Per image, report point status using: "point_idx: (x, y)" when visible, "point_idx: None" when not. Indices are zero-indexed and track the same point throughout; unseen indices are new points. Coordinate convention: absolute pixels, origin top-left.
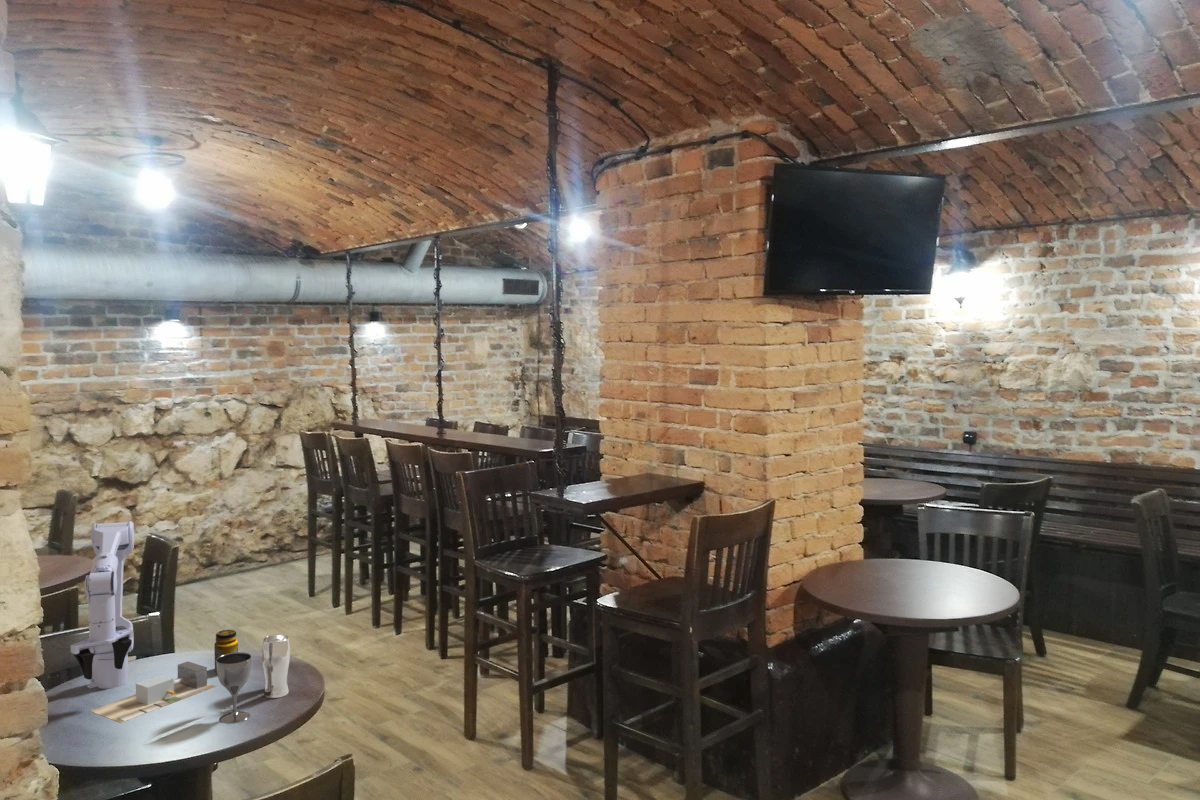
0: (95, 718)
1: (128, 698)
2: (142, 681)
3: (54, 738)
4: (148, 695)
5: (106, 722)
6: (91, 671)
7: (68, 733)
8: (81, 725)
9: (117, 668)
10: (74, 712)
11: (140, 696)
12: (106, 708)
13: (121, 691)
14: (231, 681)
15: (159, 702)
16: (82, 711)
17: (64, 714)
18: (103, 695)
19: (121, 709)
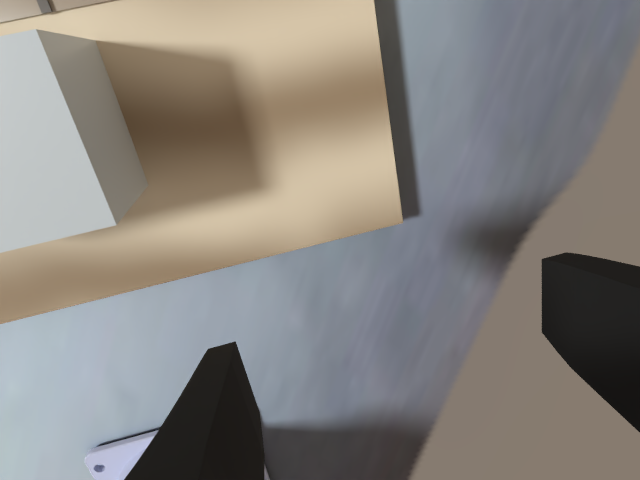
0: None
1: (178, 255)
2: (52, 233)
3: (630, 32)
4: (62, 35)
5: None
6: (625, 279)
7: (562, 45)
8: (475, 107)
9: (247, 378)
10: (424, 302)
11: (118, 141)
12: (327, 190)
13: None
14: None
15: (4, 16)
16: (396, 290)
17: (462, 307)
18: None
19: (266, 103)
